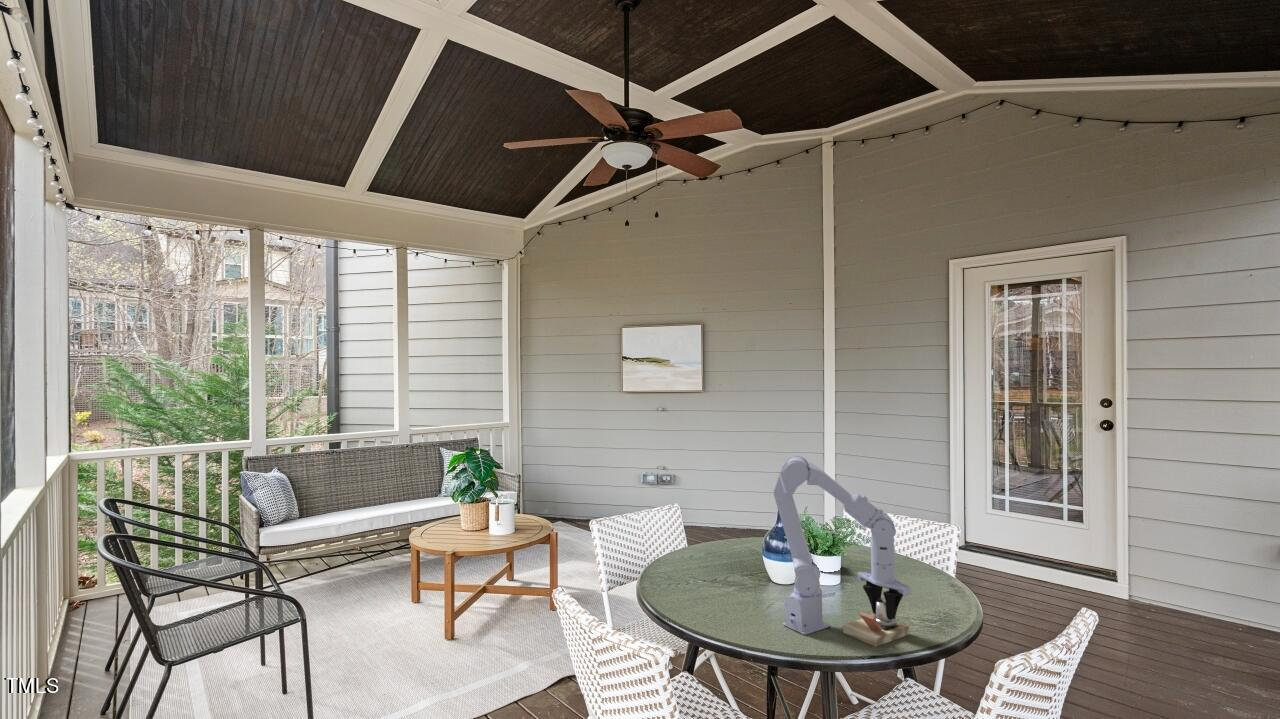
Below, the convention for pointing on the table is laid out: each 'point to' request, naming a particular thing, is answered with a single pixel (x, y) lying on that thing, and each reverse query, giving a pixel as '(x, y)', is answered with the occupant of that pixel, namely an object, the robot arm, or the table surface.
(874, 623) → the latch tab
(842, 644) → the table surface
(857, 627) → the hitch block
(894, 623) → the silver knob
